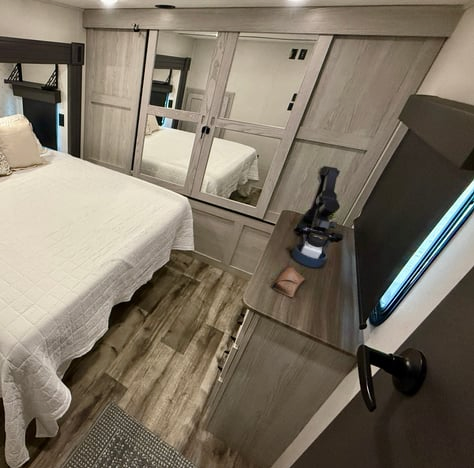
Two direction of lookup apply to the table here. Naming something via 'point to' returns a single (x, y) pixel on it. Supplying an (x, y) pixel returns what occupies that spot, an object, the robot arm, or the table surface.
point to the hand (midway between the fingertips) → (312, 248)
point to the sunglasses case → (288, 282)
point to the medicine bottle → (313, 247)
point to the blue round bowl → (306, 259)
